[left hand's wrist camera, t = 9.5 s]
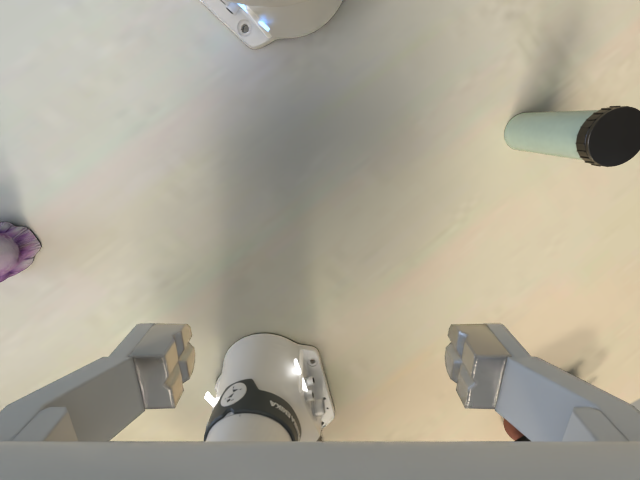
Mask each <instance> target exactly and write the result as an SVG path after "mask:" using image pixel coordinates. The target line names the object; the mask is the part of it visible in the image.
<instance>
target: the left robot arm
mask: <svg viewBox="0 0 640 480" xmlns="http://www.w3.org/2000/svg"><path fill="white" fill-rule="evenodd" d="M191 337H192V332H191V327H190V326H189V325H188V324H164V323H157V324H155V323H140V324H137V325H136V326H135V327H134V328H133V329H132V331H131V332H130V333H129V334H128V335H127V336H126V337H125V339H124V340H123V341H122V342H121V343H120V344H119V345H118V347H117V348H116V349H115V350H114V351H113V352H112V353H111V354H110V356H109V357H102V358H100V359H98V360H96V361H94V362H92V363H90V364H88V365H86V366H84V367H82V368H80V369H78V370H76V371H74V372H72V373H70V374H68V375H66V376H64V377H62V378H60V379H58V380H56V381H54V382H52V383H51V384H49V385H47V386H45V387H43V388H41V389H39V390H37V391H35V392H33V393H31V394H29V395H27V396H25V397H23V398H21V399H19V400H17V401H15V402H13V403H11V404H9V405H7V406H6V407H5V408H4V409H3V410H2V411H1V412H0V480H640V411H639V410H638V409H636V408H635V407H634V406H633V405H631V404H629V403H627V402H625V401H623V400H621V399H619V398H617V397H615V396H613V395H611V394H609V393H607V392H605V391H603V390H601V389H599V388H597V387H595V386H593V385H591V384H589V383H587V382H585V381H583V380H581V379H579V378H578V377H576V376H574V375H572V374H570V373H568V372H566V371H564V370H562V369H560V368H558V367H556V366H554V365H552V364H550V363H548V362H546V361H544V360H542V359H540V358H538V357H531V356H530V354H529V353H528V352H527V351H526V350H525V349H524V348H523V347H522V345H521V344H520V343H519V342H518V341H517V340H516V339H515V337H514V336H513V335H512V334H511V333H510V332H509V331H508V329H507V328H506V327H505V326H504V325H503V324H501V323H486V324H451V326H450V328H449V331H448V337H449V339H450V341H451V343H450V344H449V345H448V346H447V347H446V351H445V365H446V369H447V372H448V375H449V377H450V379H451V380H453V381H454V382H456V383H457V388H456V391H457V393H458V395H459V397H460V399H461V401H462V403H463V405H464V407H465V408H475V409H495V411H496V412H497V413H499V414H500V415H501V416H502V417H503V418H504V419H506V420H507V421H508V422H509V423H510V424H512V425H513V426H514V427H515V428H516V429H517V430H519V431H520V432H521V433H522V434H523V435H525V436H526V437H527V438H528V439H529V440H530V441H457V442H332V441H321V436H320V435H321V429H322V428H324V427H325V426H327V425H328V424H329V423H330V422H331V421H332V420H333V419H334V417H335V410H334V406H333V403H332V399H331V395H330V392H329V388H328V384H327V381H326V377H325V373H324V370H323V366H322V362H321V359H320V355H319V352H318V350H317V349H316V348H315V347H312V346H308V345H300V344H297V343H295V342H293V341H291V340H289V339H287V338H285V337H282V336H279V335H275V334H265V333H263V334H254V335H250V336H247V337H244V338H242V339H240V340H238V341H237V342H236V343H234V344H233V345H232V346H231V347H230V348H229V350H228V351H227V353H226V355H225V357H224V361H223V369H222V374H221V375H220V376H219V378H218V380H217V382H216V385H215V391H216V392H217V394H216V398H215V399H214V398H213V397H212V396H211V394H210V393H209V392H207V393H206V395H205V399H206V400H207V401H208V402H209V403H210V404H211V405H212V406H213V410H212V414H211V417H210V419H209V422H208V423H207V426H206V432H205V435H204V441H151V442H129V441H110V440H111V439H112V438H113V437H114V436H116V435H117V434H118V433H119V432H120V431H121V430H123V429H124V428H125V427H126V426H127V425H129V424H130V423H131V422H132V421H133V420H135V419H136V418H137V417H138V416H139V415H140V414H142V413H143V412H144V411H145V409H165V408H175V407H176V405H177V403H178V401H179V399H180V397H181V395H182V393H183V391H184V388H183V383H184V382H186V381H187V380H189V379H190V377H191V375H192V372H193V369H194V364H195V350H194V347H193V346H192V345H191V344H190V343H189V341H190V339H191ZM312 359H313V360H314V361H312Z"/></svg>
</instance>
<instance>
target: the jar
mask: <svg viewBox="0 0 640 480" xmlns="http://www.w3.org/2000/svg"><path fill="white" fill-rule="evenodd" d="M597 111H599V110H592V111H561V112H530V113H521V114H518V115H516V116H515V117H513V118H512V119H511V120H510V121H509V123H508V124H507V126H506V128H505V133H504V137H505V141H506V143H507V145H508V146H509V147H511V148H512V149H515V150H521V151H527V152H533V153H540V154H546V155H553V156H559V157H566V158H572V159H579V160H583V159H582V158H580V156H579V154H578V152H577V148H576V144H575V143H576V138H577V135H578V132H579V130H580V127H581V126H582V124H583V123H584V122H585V121H586V119H588V118H589V117H590V116H591V115H592V114H593V113H594V112H597Z"/></svg>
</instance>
